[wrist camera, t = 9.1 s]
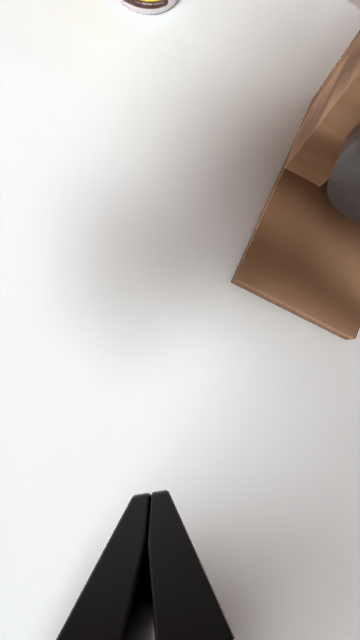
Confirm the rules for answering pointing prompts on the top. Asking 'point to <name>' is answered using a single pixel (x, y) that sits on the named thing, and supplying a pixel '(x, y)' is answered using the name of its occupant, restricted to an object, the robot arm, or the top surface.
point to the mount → (312, 217)
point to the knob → (347, 178)
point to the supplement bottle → (148, 5)
